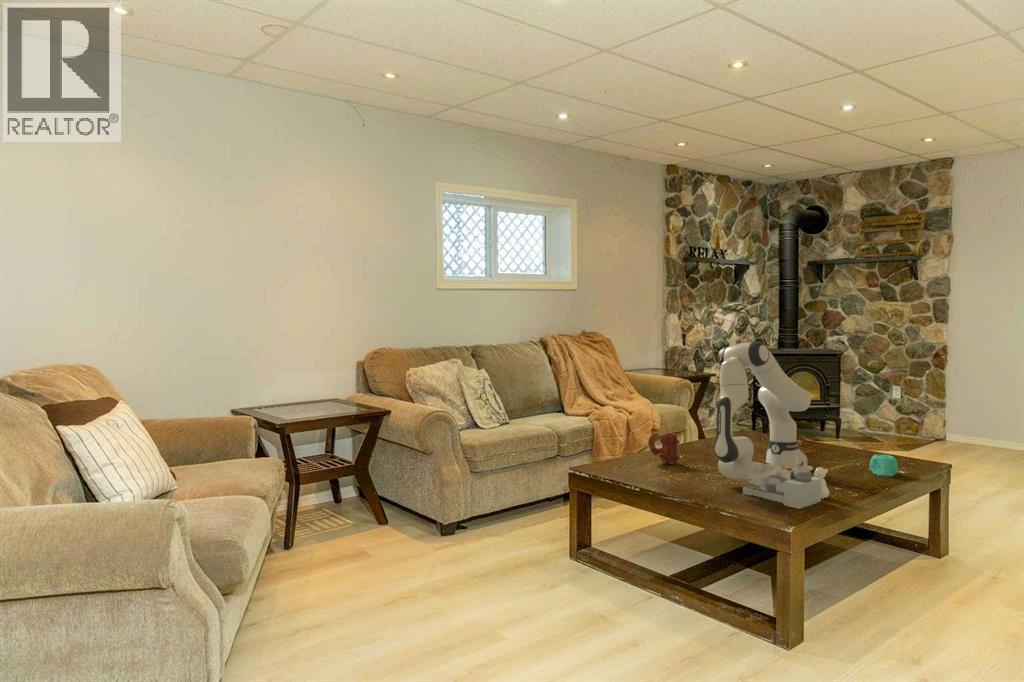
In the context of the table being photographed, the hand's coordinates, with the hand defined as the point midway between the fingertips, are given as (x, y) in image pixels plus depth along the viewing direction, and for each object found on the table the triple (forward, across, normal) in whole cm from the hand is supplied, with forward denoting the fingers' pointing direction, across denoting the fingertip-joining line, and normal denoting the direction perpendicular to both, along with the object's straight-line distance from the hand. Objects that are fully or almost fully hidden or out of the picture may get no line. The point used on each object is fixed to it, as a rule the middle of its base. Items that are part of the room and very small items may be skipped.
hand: (787, 480), depth 262 cm
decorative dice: (+5, +68, +8) cm, 69 cm away
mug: (-69, +8, +8) cm, 70 cm away
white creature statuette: (+5, +13, +8) cm, 16 cm away
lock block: (0, 0, +8) cm, 8 cm away
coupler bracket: (-3, 0, +7) cm, 8 cm away
